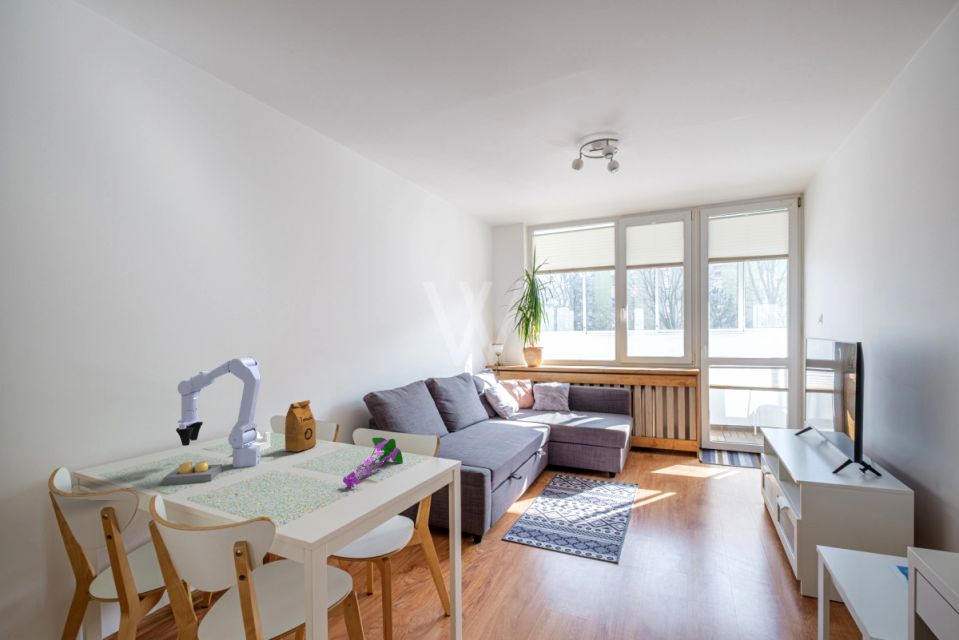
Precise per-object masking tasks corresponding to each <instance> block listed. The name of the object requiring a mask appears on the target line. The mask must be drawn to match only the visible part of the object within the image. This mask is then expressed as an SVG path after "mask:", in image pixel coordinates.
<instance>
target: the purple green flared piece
mask: <svg viewBox="0 0 959 640" xmlns="http://www.w3.org/2000/svg"><path fill="white" fill-rule="evenodd" d="M371 441H372V443H373V445H374V450H373V452H372V453H371V455H370V457H369V458H367V460H363V465H362V466H360V467H359V466H358V467H357V469H356V470H355V471H351V472H350V473H349V474H347V476H344V477H343V479H342V482H343V483H344V484H345V485H346V487H348V488H352V487H353V486H354V485H355V484H358V483H360V482H361V479H359V478H362V477H364V476H365V475H366V474H369V475H370V474H371V473H372V472H371V471H372V470H373V469H374V468H375V467H380V466H382V465H383V464H384V462H383V461H386V462H388V461H389V460H390V459H391V461H392V462H393V461H397V462H401V463H400V464H403V461H404V460H403V454H402V451H401V449H399V448H398V447H397V444H396V439H395V438H390V439H386V438H385V437H372V438H371ZM375 451H376V452H375ZM373 455H375V457H374V456H373ZM376 461H378V462H376ZM397 462H396V463H397ZM373 464H374V465H373ZM362 467H363V468H362Z"/></svg>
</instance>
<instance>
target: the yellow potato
mask: <svg viewBox="0 0 959 640" xmlns="http://www.w3.org/2000/svg"><path fill="white" fill-rule="evenodd" d="M208 465H209V462H208V461H199V462H196V463H195V464H194V466H195V473H200V472H206V471H208Z"/></svg>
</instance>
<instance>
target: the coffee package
mask: <svg viewBox="0 0 959 640" xmlns="http://www.w3.org/2000/svg"><path fill="white" fill-rule="evenodd" d="M309 404H311V401H310V399H307V400H302V401H298V402H294V403H290V405H289V407H288V409H287V413H286V416H285V423H284V424H285V425H284V442H285V443H284V444H285V445H284V447H285V448H284V450H285V452H294V453H297V452H302V451H305V450H309V449H311V448H315V446H316V444H317V436H316V435H317V434H316V432H317V430H316V429H317V428H316V427H317V425H316V419H315V416H314V415H313V412H312V410H311V407H310V405H309Z"/></svg>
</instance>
